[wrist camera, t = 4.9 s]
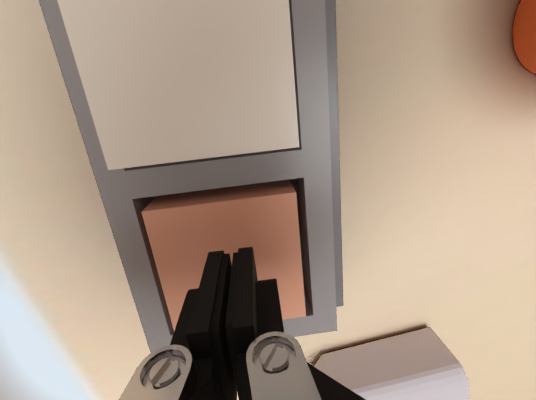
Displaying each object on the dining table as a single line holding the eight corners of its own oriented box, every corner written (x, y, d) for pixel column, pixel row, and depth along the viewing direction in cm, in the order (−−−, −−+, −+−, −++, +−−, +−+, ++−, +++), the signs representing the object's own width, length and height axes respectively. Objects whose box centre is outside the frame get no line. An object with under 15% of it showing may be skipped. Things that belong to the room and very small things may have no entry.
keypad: (-5, -300, 11) (-236, -674, 6) (303, -319, 11) (353, -685, 6) (162, 300, 20) (133, 369, 15) (329, 277, 20) (358, 337, 15)
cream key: (95, -23, 10) (35, -73, 7) (272, -40, 10) (281, -96, 7) (140, 155, 12) (107, 170, 9) (287, 137, 12) (299, 147, 10)
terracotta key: (162, 190, 14) (141, 211, 11) (286, 175, 15) (296, 192, 12) (187, 295, 16) (175, 334, 14) (295, 280, 17) (305, 316, 14)
